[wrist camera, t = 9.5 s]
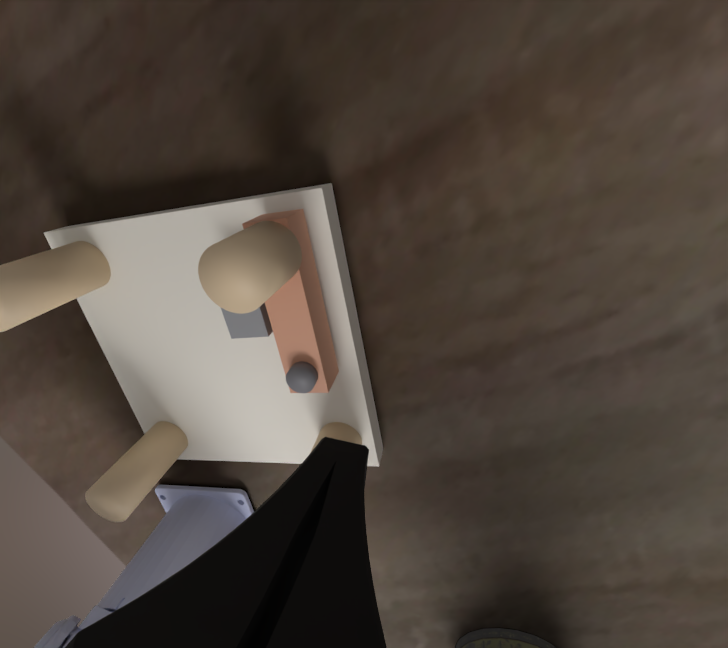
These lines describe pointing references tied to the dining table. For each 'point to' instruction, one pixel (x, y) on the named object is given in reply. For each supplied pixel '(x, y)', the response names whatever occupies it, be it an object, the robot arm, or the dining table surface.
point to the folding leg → (276, 292)
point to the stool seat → (198, 340)
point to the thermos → (501, 639)
